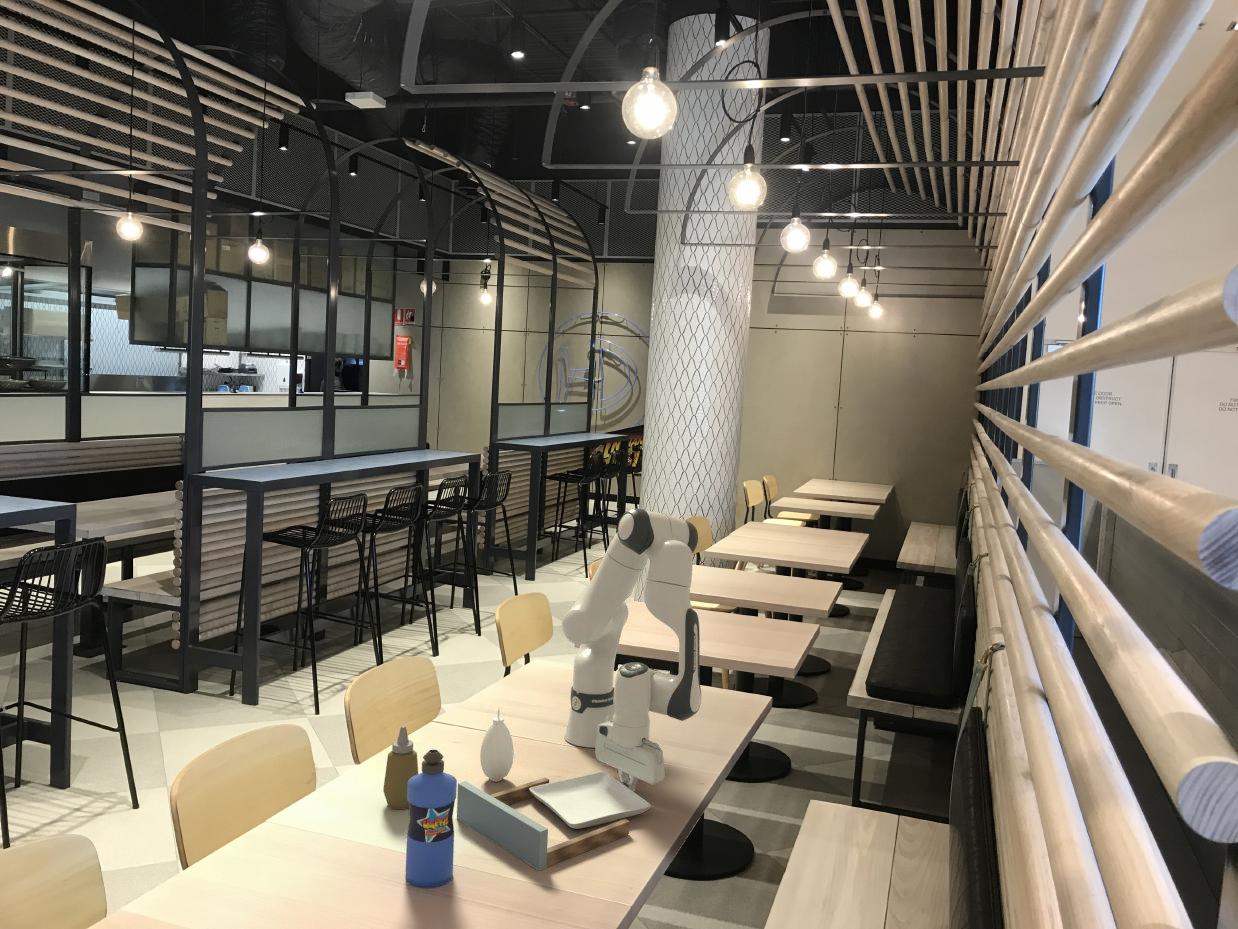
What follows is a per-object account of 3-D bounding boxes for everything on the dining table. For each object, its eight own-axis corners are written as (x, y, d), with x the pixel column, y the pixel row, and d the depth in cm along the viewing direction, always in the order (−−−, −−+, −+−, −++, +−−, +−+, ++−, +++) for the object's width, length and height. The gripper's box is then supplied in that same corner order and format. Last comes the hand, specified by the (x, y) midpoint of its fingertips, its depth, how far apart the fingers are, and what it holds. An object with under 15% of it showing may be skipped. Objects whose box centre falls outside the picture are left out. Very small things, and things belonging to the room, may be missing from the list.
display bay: (544, 789, 228) (546, 757, 227) (628, 834, 207) (630, 799, 206) (456, 818, 210) (457, 783, 210) (538, 870, 189) (540, 831, 189)
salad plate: (570, 839, 204) (571, 823, 203) (526, 800, 222) (527, 786, 221) (652, 819, 215) (653, 804, 215) (604, 784, 233) (605, 770, 233)
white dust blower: (518, 781, 232) (521, 708, 231) (493, 789, 226) (496, 715, 225) (498, 771, 237) (500, 700, 236) (473, 779, 232) (475, 707, 230)
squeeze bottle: (425, 800, 219) (428, 724, 217) (406, 815, 211) (409, 736, 210) (395, 794, 221) (397, 718, 220) (375, 808, 214) (377, 730, 212)
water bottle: (400, 868, 188) (404, 745, 186) (447, 861, 192) (451, 740, 190) (409, 892, 179) (413, 763, 177) (458, 884, 183) (463, 757, 181)
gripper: (671, 743, 220) (669, 801, 221) (611, 718, 234) (608, 772, 235) (652, 749, 215) (650, 808, 216) (592, 723, 230) (589, 779, 231)
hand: (628, 789), depth 226 cm, fingers closed
